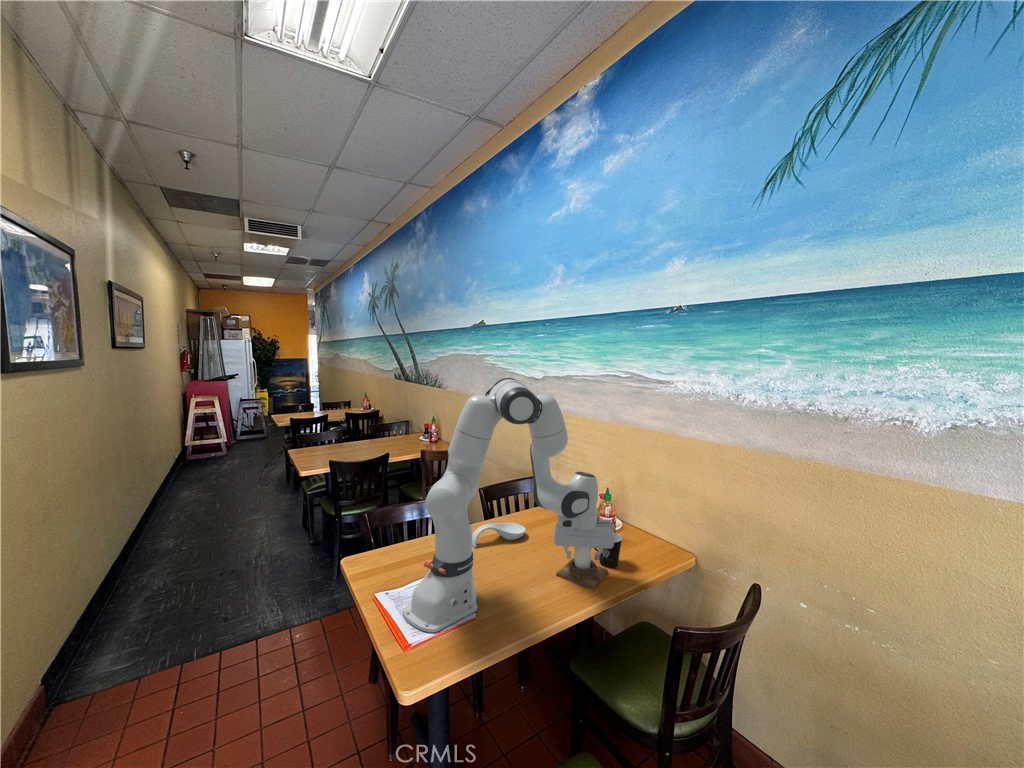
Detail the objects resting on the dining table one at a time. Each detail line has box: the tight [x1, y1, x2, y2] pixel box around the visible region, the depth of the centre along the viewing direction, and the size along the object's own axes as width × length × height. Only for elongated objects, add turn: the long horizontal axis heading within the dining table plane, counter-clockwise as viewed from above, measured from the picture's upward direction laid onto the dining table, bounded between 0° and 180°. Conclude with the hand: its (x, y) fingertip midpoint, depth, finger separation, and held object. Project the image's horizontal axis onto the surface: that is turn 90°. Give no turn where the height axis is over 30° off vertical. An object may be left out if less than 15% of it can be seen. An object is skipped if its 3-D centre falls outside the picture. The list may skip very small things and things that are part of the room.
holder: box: [555, 557, 609, 591], centre depth 132 cm, size 13×13×4 cm
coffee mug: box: [593, 531, 623, 569], centre depth 140 cm, size 12×9×10 cm
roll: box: [573, 545, 592, 570], centre depth 132 cm, size 5×5×10 cm
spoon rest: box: [472, 522, 527, 549], centre depth 156 cm, size 24×12×7 cm, turn 121°
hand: (582, 558), depth 132 cm, fingers open, 8 cm apart
